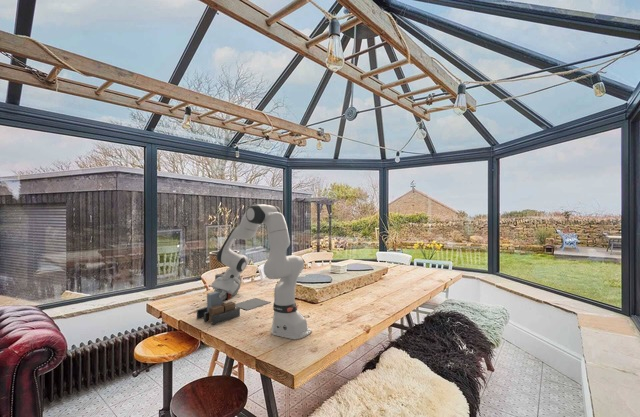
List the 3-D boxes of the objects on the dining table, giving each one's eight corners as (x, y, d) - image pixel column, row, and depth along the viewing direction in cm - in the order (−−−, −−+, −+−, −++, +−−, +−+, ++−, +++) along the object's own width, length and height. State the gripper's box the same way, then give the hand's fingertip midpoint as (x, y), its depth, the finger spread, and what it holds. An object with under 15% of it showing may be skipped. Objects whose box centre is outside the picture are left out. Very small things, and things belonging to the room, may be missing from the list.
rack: (239, 316, 177) (239, 307, 177) (213, 325, 163) (213, 316, 163) (223, 310, 188) (223, 302, 188) (196, 318, 173) (196, 309, 173)
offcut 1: (223, 319, 171) (223, 306, 171) (212, 323, 166) (212, 309, 166) (219, 318, 174) (219, 304, 174) (208, 321, 168) (209, 307, 168)
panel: (222, 314, 179) (222, 291, 180) (210, 318, 173) (210, 294, 173) (218, 313, 182) (218, 290, 182) (207, 316, 176) (207, 293, 176)
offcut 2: (235, 315, 177) (235, 302, 177) (225, 319, 172) (225, 305, 172) (231, 314, 180) (231, 301, 180) (221, 317, 174) (221, 304, 174)
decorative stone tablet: (222, 274, 200) (242, 269, 229) (213, 274, 201) (235, 269, 230) (221, 303, 198) (241, 294, 227) (212, 302, 199) (233, 294, 229)
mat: (270, 302, 203) (270, 302, 203) (247, 310, 187) (247, 309, 187) (255, 298, 212) (255, 297, 212) (232, 305, 197) (232, 304, 197)
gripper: (217, 272, 191) (203, 290, 183) (236, 277, 178) (222, 296, 170) (223, 278, 194) (209, 296, 186) (242, 282, 182) (229, 302, 174)
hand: (216, 296), depth 178 cm, fingers closed on panel, 4 cm apart
